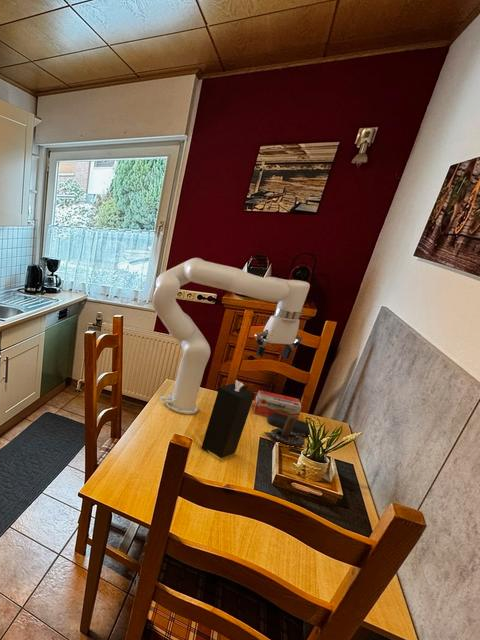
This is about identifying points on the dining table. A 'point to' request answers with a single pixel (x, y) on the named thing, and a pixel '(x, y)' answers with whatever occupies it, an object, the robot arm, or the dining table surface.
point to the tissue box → (227, 419)
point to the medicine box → (276, 404)
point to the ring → (287, 442)
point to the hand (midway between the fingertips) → (271, 356)
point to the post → (285, 430)
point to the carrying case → (281, 420)
